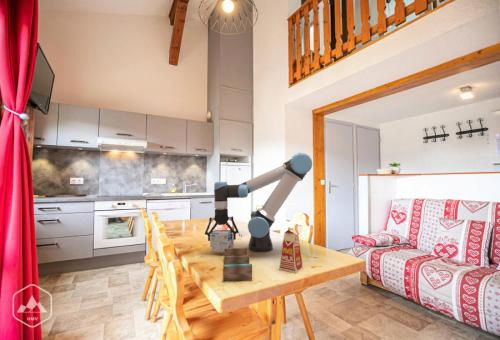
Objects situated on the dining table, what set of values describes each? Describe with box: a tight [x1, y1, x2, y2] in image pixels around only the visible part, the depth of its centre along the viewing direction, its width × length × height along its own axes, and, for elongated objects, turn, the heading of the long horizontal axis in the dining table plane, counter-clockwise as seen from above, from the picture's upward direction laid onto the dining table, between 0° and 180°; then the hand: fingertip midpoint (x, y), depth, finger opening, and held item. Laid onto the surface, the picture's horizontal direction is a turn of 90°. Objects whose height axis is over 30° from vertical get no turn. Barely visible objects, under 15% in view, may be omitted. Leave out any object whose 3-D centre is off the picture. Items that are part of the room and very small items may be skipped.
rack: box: [223, 247, 253, 283], centre depth 118 cm, size 12×28×7 cm, turn 5°
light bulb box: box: [210, 229, 234, 252], centre depth 142 cm, size 11×7×11 cm, turn 71°
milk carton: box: [278, 226, 304, 274], centre depth 119 cm, size 9×9×20 cm
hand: (222, 246), depth 142 cm, fingers closed on light bulb box, 12 cm apart
